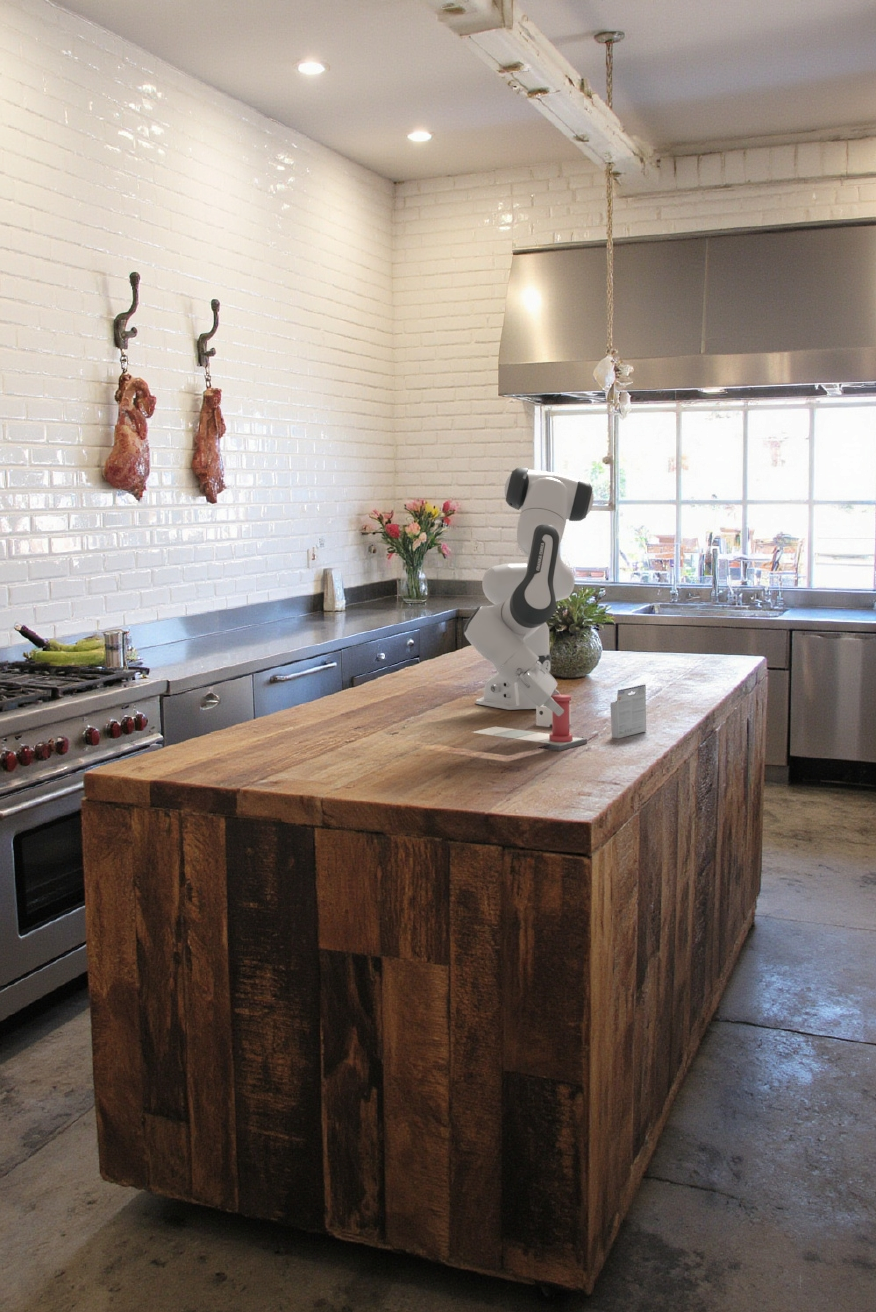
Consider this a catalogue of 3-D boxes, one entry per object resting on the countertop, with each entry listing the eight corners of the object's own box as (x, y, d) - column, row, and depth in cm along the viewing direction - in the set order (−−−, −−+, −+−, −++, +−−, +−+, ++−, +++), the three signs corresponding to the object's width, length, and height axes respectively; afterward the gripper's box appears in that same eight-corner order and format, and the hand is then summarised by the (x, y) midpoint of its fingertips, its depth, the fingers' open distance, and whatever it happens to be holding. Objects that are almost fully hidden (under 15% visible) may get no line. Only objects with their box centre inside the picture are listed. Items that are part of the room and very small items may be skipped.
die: (536, 730, 281) (536, 705, 280) (550, 726, 285) (550, 702, 285) (556, 733, 277) (556, 708, 276) (571, 729, 281) (571, 704, 281)
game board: (468, 737, 272) (468, 732, 272) (497, 730, 281) (497, 725, 281) (558, 751, 255) (558, 745, 255) (586, 743, 264) (586, 738, 264)
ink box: (638, 731, 278) (639, 683, 277) (646, 732, 276) (647, 684, 275) (609, 737, 270) (609, 688, 269) (617, 739, 268) (617, 689, 267)
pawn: (544, 740, 261) (544, 696, 260) (558, 737, 265) (558, 693, 264) (563, 743, 258) (563, 698, 257) (577, 739, 262) (577, 695, 261)
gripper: (524, 662, 250) (570, 708, 250) (535, 651, 270) (577, 693, 270) (504, 683, 252) (549, 728, 251) (516, 670, 272) (558, 712, 271)
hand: (563, 710), depth 261 cm, fingers open, 8 cm apart
